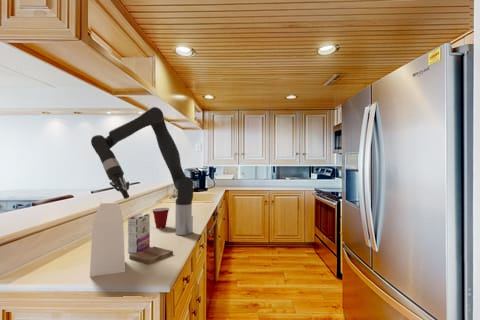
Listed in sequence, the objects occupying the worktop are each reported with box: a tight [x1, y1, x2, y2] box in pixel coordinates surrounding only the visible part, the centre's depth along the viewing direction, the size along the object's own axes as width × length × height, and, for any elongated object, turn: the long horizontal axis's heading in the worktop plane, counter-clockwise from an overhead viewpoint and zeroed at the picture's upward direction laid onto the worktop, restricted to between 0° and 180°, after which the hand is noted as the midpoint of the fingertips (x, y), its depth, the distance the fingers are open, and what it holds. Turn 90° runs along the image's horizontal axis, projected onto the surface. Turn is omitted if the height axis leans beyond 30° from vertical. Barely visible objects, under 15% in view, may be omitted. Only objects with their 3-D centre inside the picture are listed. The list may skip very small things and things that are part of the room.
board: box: [128, 246, 174, 265], centre depth 122 cm, size 14×12×2 cm
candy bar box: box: [127, 212, 151, 254], centre depth 130 cm, size 11×5×16 cm, turn 168°
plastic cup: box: [151, 207, 170, 229], centre depth 174 cm, size 11×11×12 cm
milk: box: [89, 201, 126, 278], centre depth 108 cm, size 12×12×26 cm
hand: (127, 197), depth 137 cm, fingers closed
